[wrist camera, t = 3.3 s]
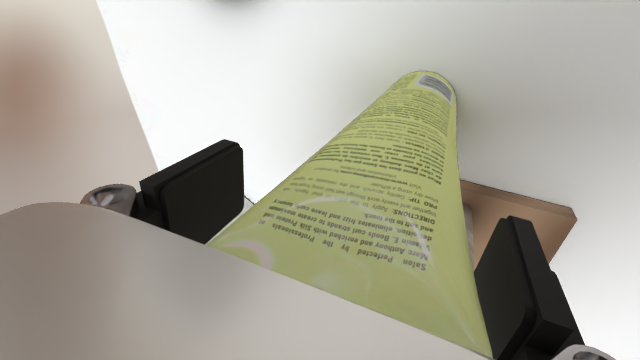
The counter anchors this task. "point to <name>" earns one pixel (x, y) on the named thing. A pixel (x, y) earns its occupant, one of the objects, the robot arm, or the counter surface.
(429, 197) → the tube
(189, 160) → the robot arm
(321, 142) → the counter surface
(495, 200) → the wooden tube holder
